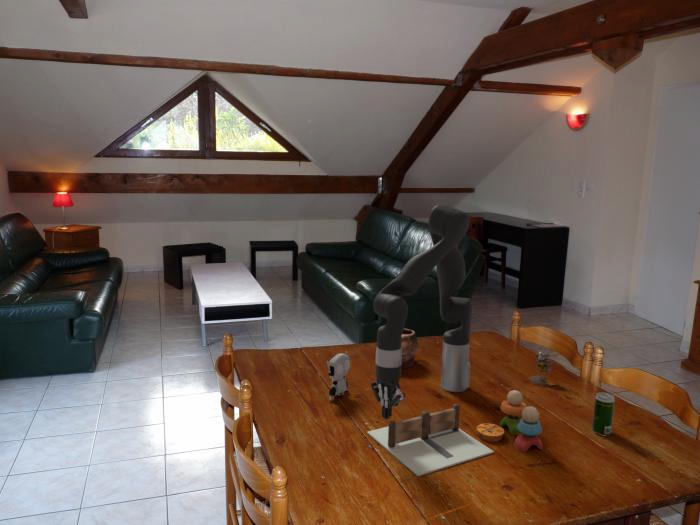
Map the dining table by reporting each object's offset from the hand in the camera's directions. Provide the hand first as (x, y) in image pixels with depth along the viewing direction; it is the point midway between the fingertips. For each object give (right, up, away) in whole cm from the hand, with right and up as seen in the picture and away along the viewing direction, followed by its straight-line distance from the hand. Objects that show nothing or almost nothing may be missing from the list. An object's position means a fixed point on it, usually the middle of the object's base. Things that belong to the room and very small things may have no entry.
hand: (386, 417), depth 166 cm
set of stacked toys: (+37, -7, +1) cm, 38 cm away
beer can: (+66, -6, +6) cm, 66 cm away
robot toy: (-14, -1, +29) cm, 32 cm away
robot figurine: (+61, +1, +43) cm, 75 cm away
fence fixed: (+16, -5, +2) cm, 17 cm away
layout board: (+12, -7, -2) cm, 14 cm away
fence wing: (+5, -6, -4) cm, 9 cm away
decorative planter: (+10, +5, +60) cm, 61 cm away
